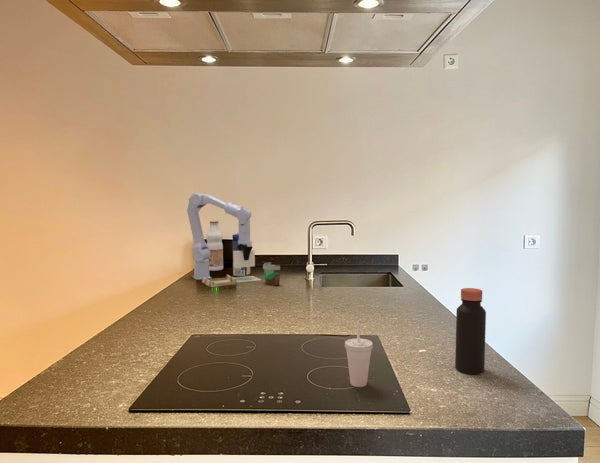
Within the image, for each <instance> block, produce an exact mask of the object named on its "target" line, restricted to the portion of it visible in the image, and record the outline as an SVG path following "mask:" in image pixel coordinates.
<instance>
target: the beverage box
mask: <svg viewBox="0 0 600 463" xmlns="http://www.w3.org/2000/svg"><path fill="white" fill-rule="evenodd" d="M231 236H232V252H233V251H239V250H238V248H237V246H238V245H240V244H238V240H239V232H238V233H234V234H232V235H231ZM250 274H251V267H240V268H235V267H233V266H232V277H234V276H241V277H246V276H249V275H250Z"/></svg>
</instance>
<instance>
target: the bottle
mask: <svg viewBox="0 0 600 463" xmlns="http://www.w3.org/2000/svg"><path fill="white" fill-rule="evenodd" d="M460 301H461V304H460V305H459V306H458V307H456V318H455V319H456V321H455V325H456V326H455V355H454V356H455V359H454V361H455V364H454V365H455V366H454V367H455V369H456V370H457V371H459V372H460V373H463V374H467V375H480V374H483V373H484V372H485V361H486V360H485V358H486V357H485V356H486V327H487V320H486V318H487V312H486V309H485V308H484V307H483V306H482V305H481V303H482V302H483V290H482V289H480V288H473V287H465V288H464V287H463V288H461V289H460Z"/></svg>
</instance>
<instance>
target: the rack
mask: <svg viewBox="0 0 600 463" xmlns="http://www.w3.org/2000/svg"><path fill="white" fill-rule="evenodd" d="M218 281H231V282H230V283H220V284H213V282H218ZM201 283H203V284H204V285H206V286H208V287H209V288H214V287H215V288H216V287H223V286H225V287H226V286H234V285H237V284H238V283H237V279H236V278H235V277H234V276H231V275H229V274H226V276H225V277H219V278H208V279H206V278H204V277H202V279H201Z"/></svg>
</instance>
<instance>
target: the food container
mask: <svg viewBox="0 0 600 463" xmlns="http://www.w3.org/2000/svg"><path fill="white" fill-rule="evenodd" d="M262 269H263V272H264V274H263V275H264V283H265V285H266V286H273V287H279V286H280V275H281V265H280V264H279V265H278V264H277V265H276V264H272V262H270V261H269V262H264V263H263V265H262Z"/></svg>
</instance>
